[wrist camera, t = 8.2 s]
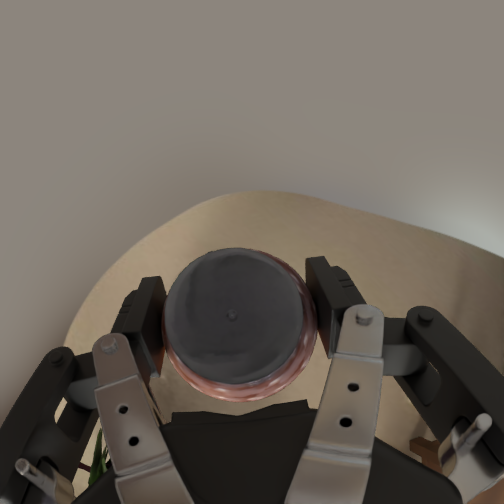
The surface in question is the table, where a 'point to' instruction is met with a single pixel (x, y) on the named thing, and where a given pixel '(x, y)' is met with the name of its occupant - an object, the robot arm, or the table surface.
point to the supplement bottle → (239, 324)
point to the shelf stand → (492, 500)
